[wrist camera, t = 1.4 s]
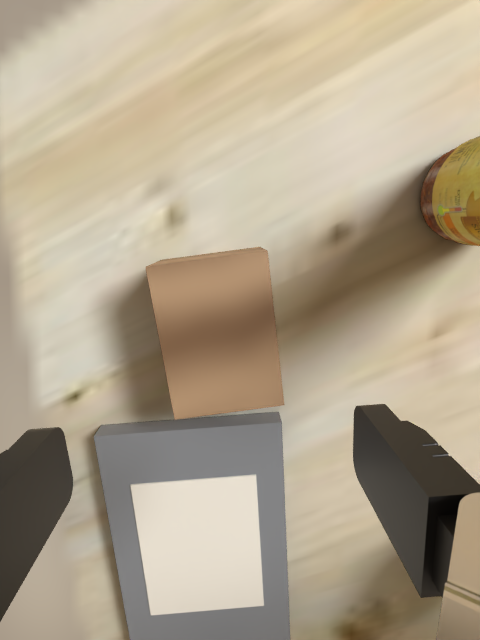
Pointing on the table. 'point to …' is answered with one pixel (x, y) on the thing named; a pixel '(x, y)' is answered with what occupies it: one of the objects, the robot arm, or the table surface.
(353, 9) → the table surface
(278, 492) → the base board
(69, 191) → the table surface
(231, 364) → the walnut block
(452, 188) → the sauce bottle
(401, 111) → the table surface
